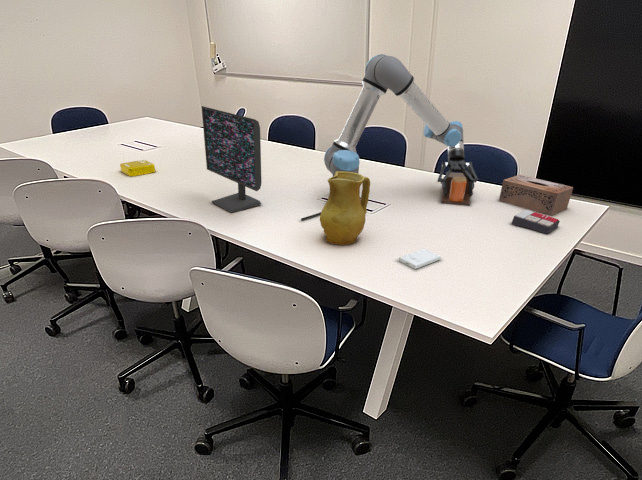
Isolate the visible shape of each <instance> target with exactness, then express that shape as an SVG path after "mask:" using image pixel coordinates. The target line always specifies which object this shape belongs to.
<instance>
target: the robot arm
mask: <svg viewBox="0 0 642 480" xmlns="http://www.w3.org/2000/svg"><path fill="white" fill-rule="evenodd" d="M364 69H365V70H364V76H363V79H362V81H361V83H362V88H361V91H360V93H359V95H358V97H357V100H356V101H355V104H354V105H353V108H352V110H351V112H350V114H349V116H348V118H347V119H346V120H347V121H346V122H345V124H344V126H343V129H342V131H341V134H340V135H339V137H338V138H337V139H335V140H334V141H333V142H332V144H331V147H329V148H328V149H326V151H325V153H324V157H323V163H324V165H325V168H326V170H327V171H328V172H330V174H332V177H334V176H335V172H336V171H338V172H342V171H343V172H353V173H358V174H360V173H359V172H360V163H361V162H360V156H359V154H358V153H357V148H356V147H357V145H358V143H359V141H360V138H361V137H362V135H363V132H364V130H365V129H366V127H367V124H368V122H369V121H370V118H371V116H372V114H373V112H374V110H375V108H376V106H377V104H378V102H379V100H380V98H381V96H382V97H383V96H384V95H386V94H387V92H388V90H390V91H391V92H392V93H393V94H394V95H395V96H396V97H400V98H401V99H402V100H403V101H404V102H405V103H406V104H407V105H408V106H409V108H410V109H411V110H412V111H413V112H414V113H415V114H416V115H417V116H418V118H419V119H420V120H421V121H422V122H423V123H424V124H425V125H424V128H423V136H424V138H428V139H431V140H435V141H437V142H439V143H440V144H443V145H445V146H446V147H447V161H442V163H441V169H440V172H439V174H438V177H437V183H440V184H441V189H442V190H443V189H444V196H446V195H447V181H445V180H446V179H447V177H448V176H449V174H450V173H451V172H453V173H463V175H464V176H465V177H466V178H467V180H468V181H469V197H470V198H471V197H472V196H473V195H474V192H473V190H474V189H475V183H477V181H478V180H479V177H478V175H477V174H476V171H475V169H474V167H473V162H472V161H469V162H466V159H465V157H466V156H465V144H464V143H465V142H464V129H463V123H462V122H461V121H458V120H452V121H450V122H449V121H448V119H447V118H446V117H445V116H444V115H443V114H442V112H441V111H440V110H439V109H438V108H437V107H436V105H435V104H434V103H433V102H432V101H431V99H429V97H428V96H427V95H426V93H424V91H422V89H421V87H419V86H418V85H417V83H416V82H415V77H414V76H413V75H412V74H411V72H410V71H409V70H408V69H407V67H406V66H405V65H404V63H403V62H402V60H400V59H399V58H397V57H395V56H392V55H387V54H383V53H382V54H377V55H374V56H372V57H371V58H369V60H368V61H367V63H366V65H365V68H364ZM447 167H448V168H449V169H448V171H446V172H447V173H446V172H445V169H446V168H447ZM444 172H445V175H444V177H443V174H444ZM442 177H443V178H442ZM360 200H361V198H360ZM321 212H322V211H320V212H317V213H315V214H311V215H307V216H304V217H302V218H301V219H300V220H301V221H304V220H308V219H312V218H314V217H318V216H320V215H321Z"/></svg>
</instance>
